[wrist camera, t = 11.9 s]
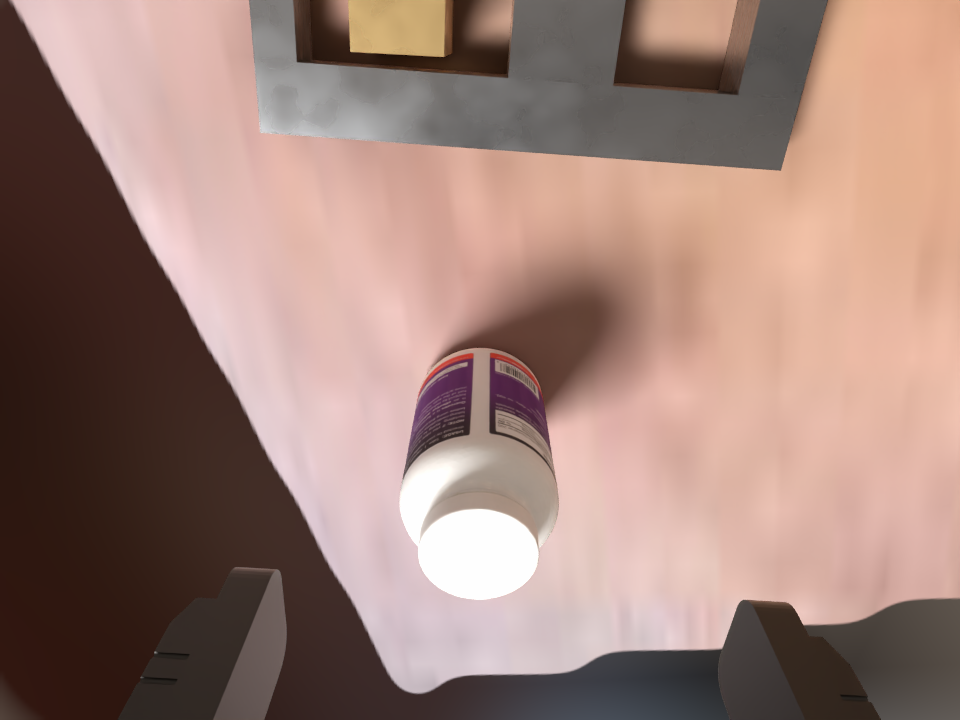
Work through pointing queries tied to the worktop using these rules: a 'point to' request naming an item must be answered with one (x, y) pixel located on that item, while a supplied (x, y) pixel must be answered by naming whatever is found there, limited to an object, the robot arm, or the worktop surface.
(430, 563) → the pill bottle
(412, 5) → the block
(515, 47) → the silver slotted board
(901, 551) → the worktop surface
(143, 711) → the robot arm
